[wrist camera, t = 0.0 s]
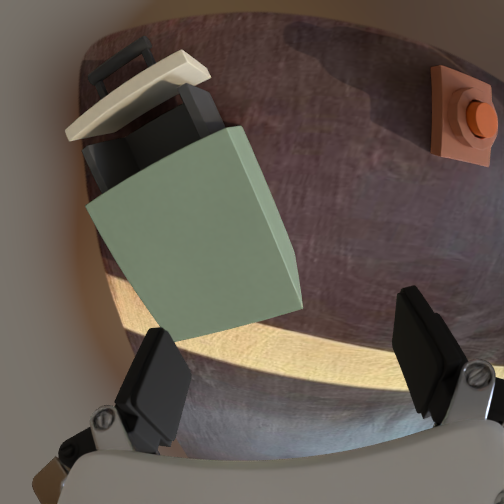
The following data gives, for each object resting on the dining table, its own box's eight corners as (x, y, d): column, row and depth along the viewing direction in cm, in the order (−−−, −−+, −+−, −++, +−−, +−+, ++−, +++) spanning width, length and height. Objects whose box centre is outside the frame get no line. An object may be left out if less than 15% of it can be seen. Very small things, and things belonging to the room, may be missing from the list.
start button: (465, 98, 17) (475, 98, 16) (487, 106, 17) (497, 107, 16) (465, 131, 19) (475, 133, 17) (487, 138, 19) (497, 141, 17)
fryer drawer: (97, 92, 22) (49, 91, 15) (190, 34, 20) (161, 8, 13) (164, 232, 29) (134, 269, 22) (262, 192, 26) (260, 220, 20)
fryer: (134, 178, 27) (84, 205, 19) (241, 125, 24) (226, 127, 16) (194, 287, 33) (172, 342, 24) (294, 253, 30) (303, 308, 22)
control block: (430, 66, 19) (449, 62, 16) (480, 85, 19) (500, 85, 15) (430, 153, 24) (449, 159, 20) (478, 163, 23) (498, 171, 20)
